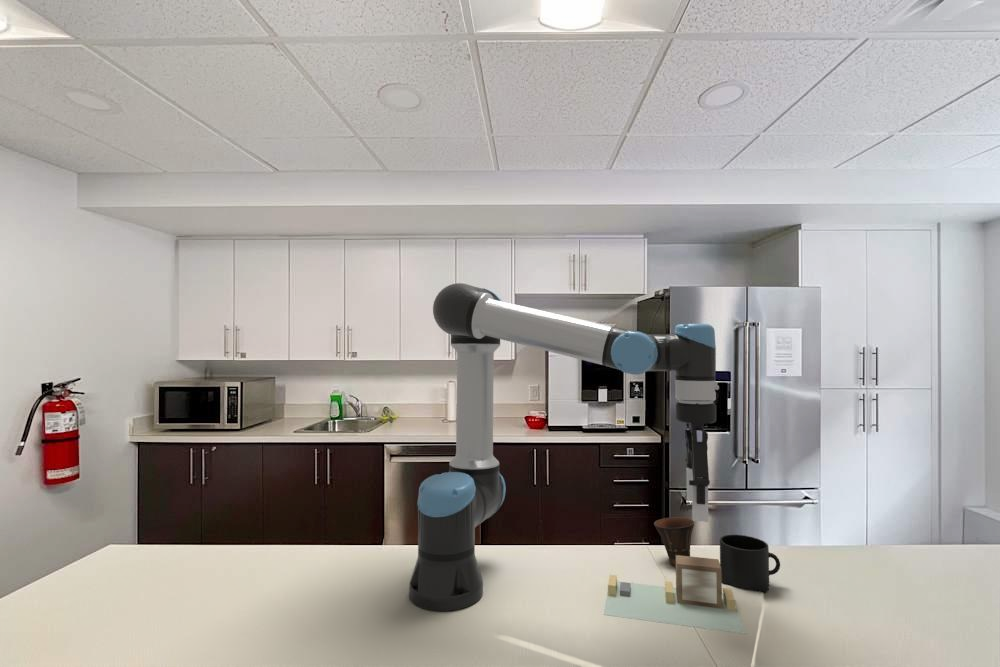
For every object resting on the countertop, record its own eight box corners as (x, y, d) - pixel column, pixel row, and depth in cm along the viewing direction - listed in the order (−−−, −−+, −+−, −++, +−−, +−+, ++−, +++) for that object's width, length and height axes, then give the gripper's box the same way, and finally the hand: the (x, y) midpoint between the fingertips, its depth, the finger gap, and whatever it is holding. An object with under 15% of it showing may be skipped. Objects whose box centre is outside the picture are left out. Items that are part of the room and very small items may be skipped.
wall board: (603, 620, 96) (603, 603, 96) (609, 585, 110) (609, 570, 110) (745, 639, 89) (744, 621, 89) (731, 599, 103) (731, 584, 104)
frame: (677, 603, 100) (676, 564, 100) (676, 592, 104) (675, 555, 105) (722, 608, 98) (721, 568, 98) (718, 597, 102) (718, 559, 102)
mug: (790, 597, 104) (789, 552, 105) (728, 594, 106) (727, 549, 106) (771, 577, 114) (770, 535, 114) (714, 574, 115) (714, 533, 116)
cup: (651, 554, 127) (651, 513, 127) (690, 556, 125) (689, 514, 126) (657, 569, 118) (657, 525, 118) (698, 571, 117) (698, 527, 117)
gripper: (725, 408, 89) (727, 533, 89) (708, 396, 113) (709, 494, 113) (679, 407, 91) (680, 528, 91) (672, 396, 115) (673, 491, 115)
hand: (696, 510), depth 102 cm, fingers open, 13 cm apart
